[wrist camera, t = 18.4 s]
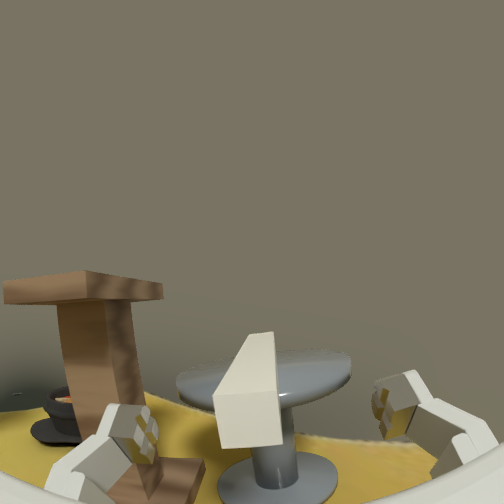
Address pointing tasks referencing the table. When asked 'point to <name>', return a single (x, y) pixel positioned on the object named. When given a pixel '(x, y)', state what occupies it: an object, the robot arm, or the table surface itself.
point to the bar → (250, 397)
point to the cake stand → (282, 456)
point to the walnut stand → (107, 369)
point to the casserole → (58, 419)
